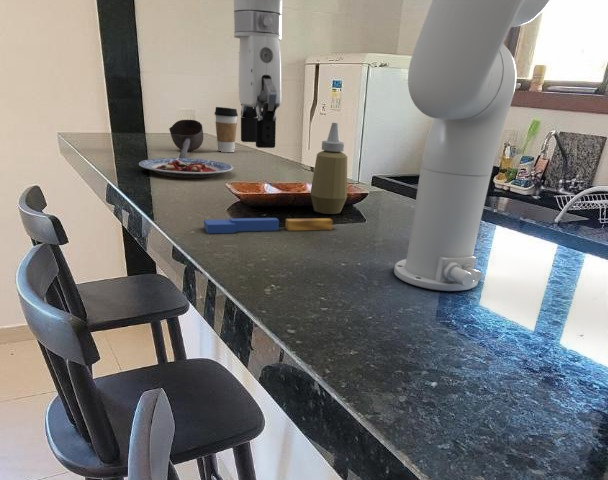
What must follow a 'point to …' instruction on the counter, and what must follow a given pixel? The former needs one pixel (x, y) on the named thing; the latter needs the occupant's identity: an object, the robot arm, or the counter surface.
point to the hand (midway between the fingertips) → (257, 144)
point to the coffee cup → (226, 128)
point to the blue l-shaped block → (241, 225)
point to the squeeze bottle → (330, 175)
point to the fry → (309, 224)
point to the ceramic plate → (186, 167)
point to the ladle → (187, 136)
